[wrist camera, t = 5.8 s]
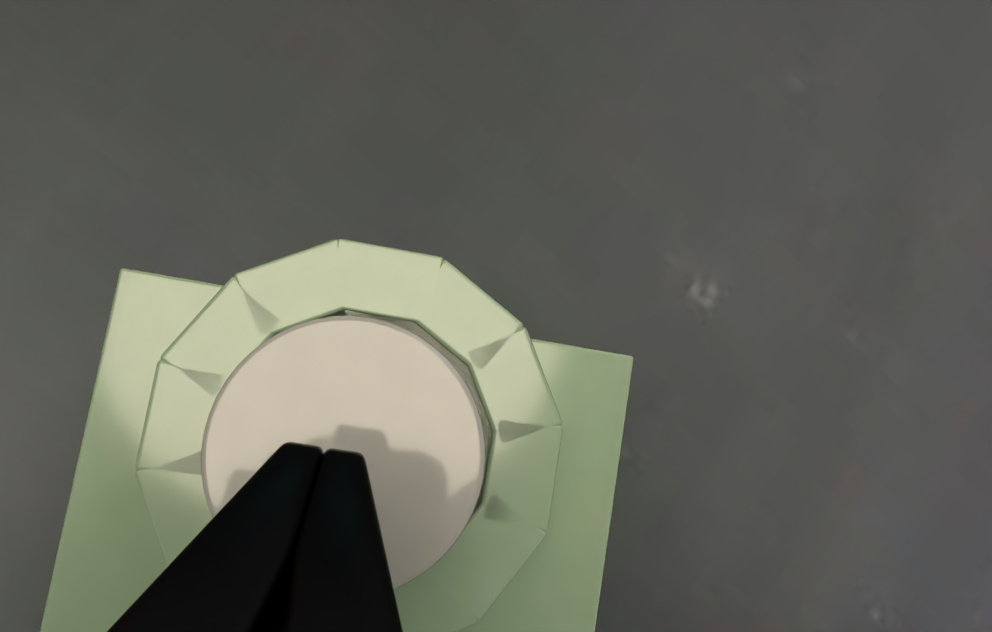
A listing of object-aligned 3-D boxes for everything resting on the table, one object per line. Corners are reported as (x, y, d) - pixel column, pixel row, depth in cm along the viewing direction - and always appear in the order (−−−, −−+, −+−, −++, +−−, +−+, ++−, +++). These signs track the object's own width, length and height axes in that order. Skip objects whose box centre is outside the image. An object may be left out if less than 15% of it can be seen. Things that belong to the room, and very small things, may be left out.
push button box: (507, 852, 20) (561, 1096, 13) (86, 804, 19) (-100, 1037, 12) (585, 331, 21) (671, 297, 14) (199, 263, 20) (93, 193, 14)
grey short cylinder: (451, 581, 14) (461, 620, 11) (215, 546, 14) (172, 579, 11) (489, 350, 14) (506, 340, 12) (262, 311, 14) (230, 292, 12)
